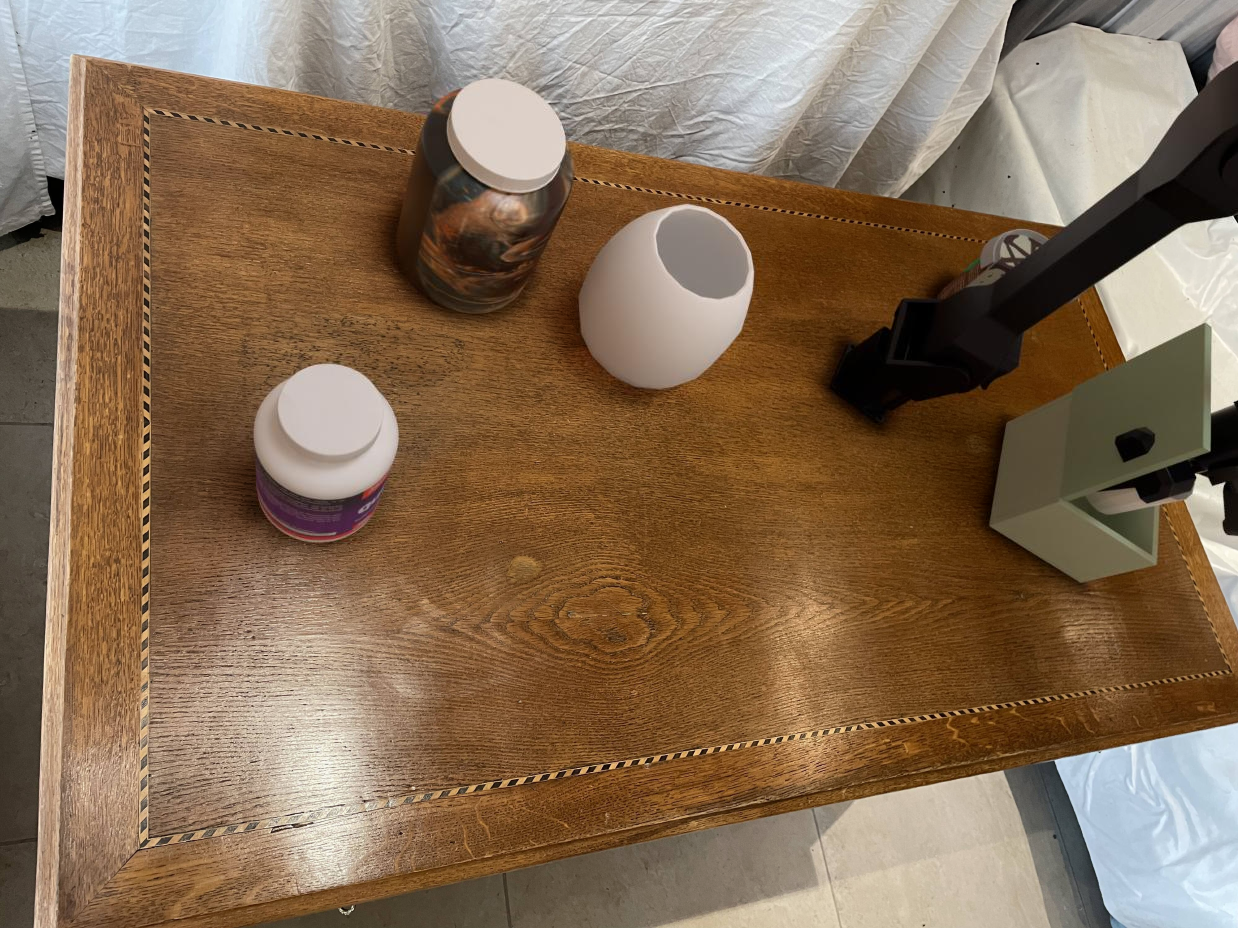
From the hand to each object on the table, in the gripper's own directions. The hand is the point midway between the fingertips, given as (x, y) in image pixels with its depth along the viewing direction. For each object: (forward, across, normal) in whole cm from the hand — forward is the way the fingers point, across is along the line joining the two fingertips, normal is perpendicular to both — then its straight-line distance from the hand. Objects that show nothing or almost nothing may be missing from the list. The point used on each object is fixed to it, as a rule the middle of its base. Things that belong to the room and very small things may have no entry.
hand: (1113, 481), depth 77 cm
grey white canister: (+2, 0, 0) cm, 2 cm away
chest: (+8, -1, 0) cm, 8 cm away
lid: (-8, -5, +4) cm, 10 cm away
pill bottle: (+8, -71, +13) cm, 73 cm away
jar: (+8, -57, +32) cm, 66 cm away
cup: (+8, -43, +23) cm, 50 cm away
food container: (+8, +1, +24) cm, 26 cm away
